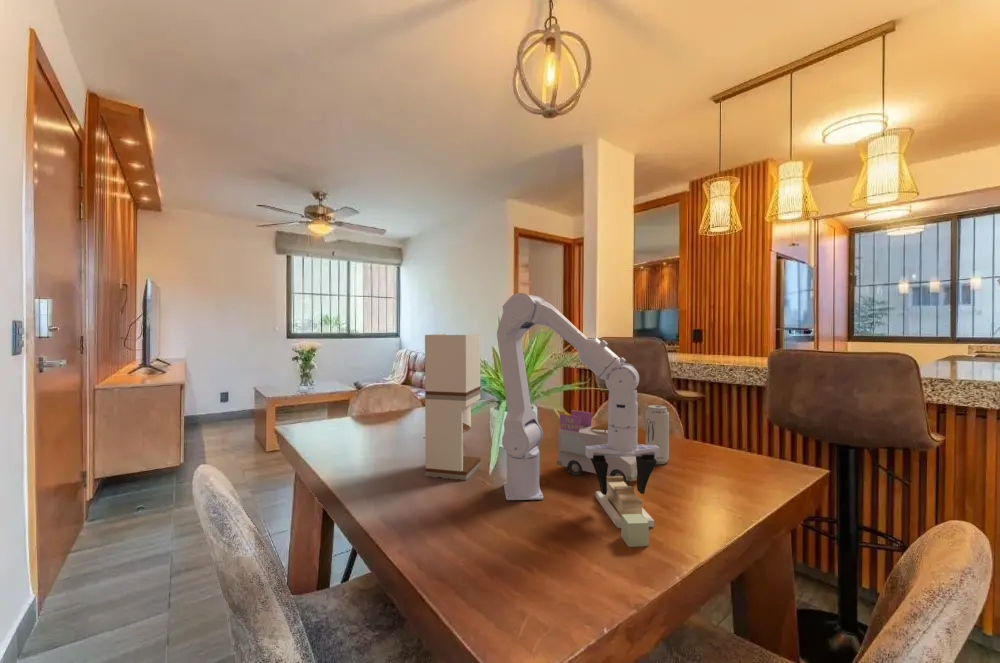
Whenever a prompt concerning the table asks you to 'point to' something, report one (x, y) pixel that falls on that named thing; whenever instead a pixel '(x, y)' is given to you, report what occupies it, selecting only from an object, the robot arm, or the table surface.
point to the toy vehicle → (580, 435)
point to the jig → (614, 514)
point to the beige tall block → (450, 402)
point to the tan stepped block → (622, 496)
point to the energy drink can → (658, 430)
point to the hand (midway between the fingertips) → (622, 492)
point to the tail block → (634, 530)
